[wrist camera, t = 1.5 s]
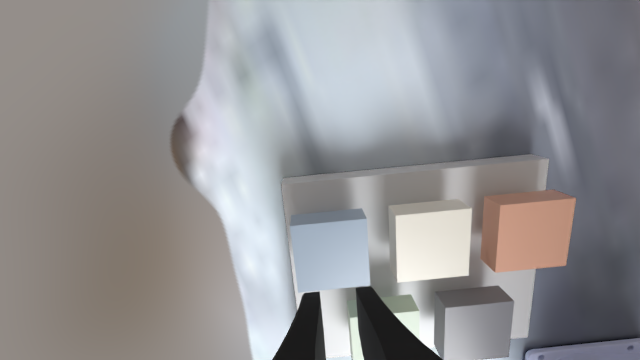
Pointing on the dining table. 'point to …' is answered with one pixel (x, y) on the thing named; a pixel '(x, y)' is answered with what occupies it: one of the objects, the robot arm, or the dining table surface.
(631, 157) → the dining table surface
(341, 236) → the slate blue key
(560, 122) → the dining table surface
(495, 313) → the grey key
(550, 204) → the terracotta key
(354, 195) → the light grey tray
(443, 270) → the cream key
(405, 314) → the sage key
